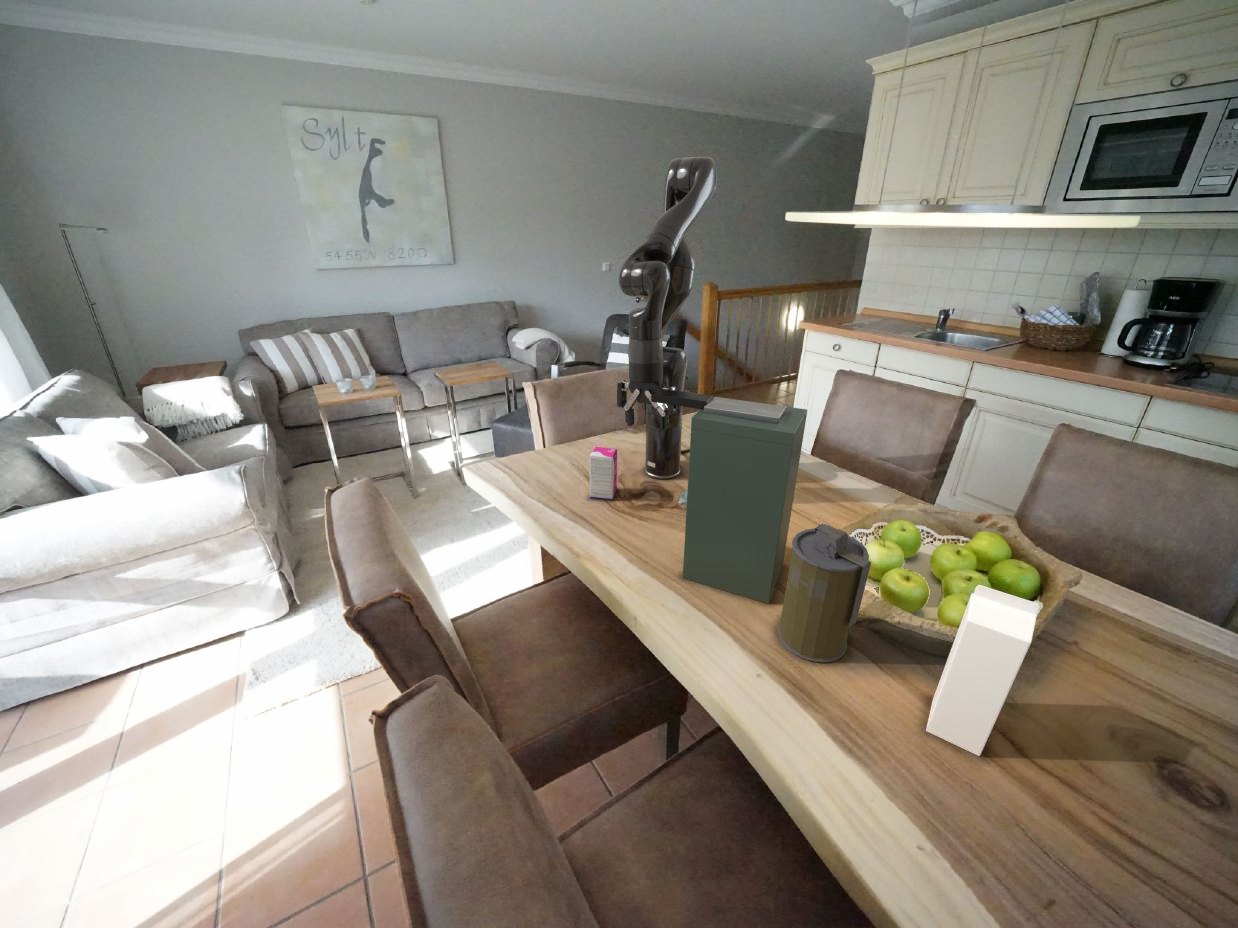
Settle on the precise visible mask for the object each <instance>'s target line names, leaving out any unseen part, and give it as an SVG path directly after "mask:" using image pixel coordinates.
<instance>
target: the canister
mask: <svg viewBox="0 0 1238 928" xmlns="http://www.w3.org/2000/svg"><path fill="white" fill-rule="evenodd" d="M791 541H792V542H791V546H792V552H791V557H790V563H789V568H788V575H787V579H786V580H787V581H786V586H785V592H784V597H783V604H782V608H781V615H780V620H779V623H778V626H777V635H778V638H779V640H780V642H781V644H782V645H783V646H784V648H786V649H787V650H788V651H789V652H791V653H792V654H793V655H795V656H797V657H798V658H801V659H804V660H806V661H809V662H815V663H832V662H835V661H837V660H839V659H841V658H842V657H843V656H844V655H845V654H846V651H847V649H848V648H847V647H848V643H847V640H848V638H849V633H850V629H851V627H852V626H854V625H855V624H857V621H858V617H859V612H860V610H861V605H862V600H863V597H864V592H865V589H866V585H867V581H868V576H869V573H870V569H871V566H872V562H871V561H870V560H869V559H870V555H869V552H868V548H867V547H866V546H864V544H863V543H861V541H859V540H858V539H857V538H855V537H853V536H851V535H849V534H848V533H847V531H844V530H842V529H840V528H836V527H834V526H832V525H829V524H827V523H821V524H818V525H817V526H816V527H814V528H809V529H804V530H802V531H799V532H798V533H796V534H795V535H794V536H793V538H792V540H791Z"/></svg>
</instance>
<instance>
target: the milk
mask: <svg viewBox="0 0 1238 928" xmlns="http://www.w3.org/2000/svg"><path fill="white" fill-rule="evenodd" d="M1040 610H1041V604H1040V603H1038V602H1035V601H1032V600H1029V599H1026V598H1022V597H1019V596H1016V595H1014V594H1009V593H1007V592H1004V591H1000V590H998V589H994V588H991V587H988V586H985V585H982V584H979V585H977V586H976V587H975V589H974V592H971V594H970V596H969V599H968V602H967V604H966V606H965V610H964V613H963V616H962V618H961V621H960V623H959V627H958V630H957V632H956V635H955V638H954V640H953V643H952V645H951V649H950V651H949V654H948V656H947V659H946V662H945V665H944V668H943V670H942V673H941V675H940V678H939V681H938V685H937V687H936V690H935V692H934V695H933V698H932V700H931V701H932V702H931V706H930V709H929V710H930V711H929V715H928V720H927V724H926V729H925V731H926V732H927V733H929V734H931V735H933V736H935V737H937V738H939V739H942V740H943V741H946V742H948V743H950V744H952V745H955V746H957V747H958V748H961V749H963V750H965V751H967V752H970V753H971V754H973V755H975V756H978V757H980V756H981V755H982V752H983V751H984V748H985V747H986V744H987V742H988V739H989V737H990V735H991V733H992V731H993V729H994V727H995V724H996V721H997V719H998V717H999V715H1000V712H1001V710H1002V708H1003V707H1004V704H1005V702H1006V700H1007V698H1008V696H1009V693H1010V691H1011V689H1012V687H1013V684H1014V682H1015V680H1016V677H1017V675H1018V673H1019V671H1020V669H1021V666H1022V664H1023V662H1024V659H1025V657H1026V655H1027V653H1028V651H1029V648H1030V647H1031V644H1032V642H1033V637H1034V632H1035V627H1036V622H1037V617H1038V615H1039V612H1040Z"/></svg>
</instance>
